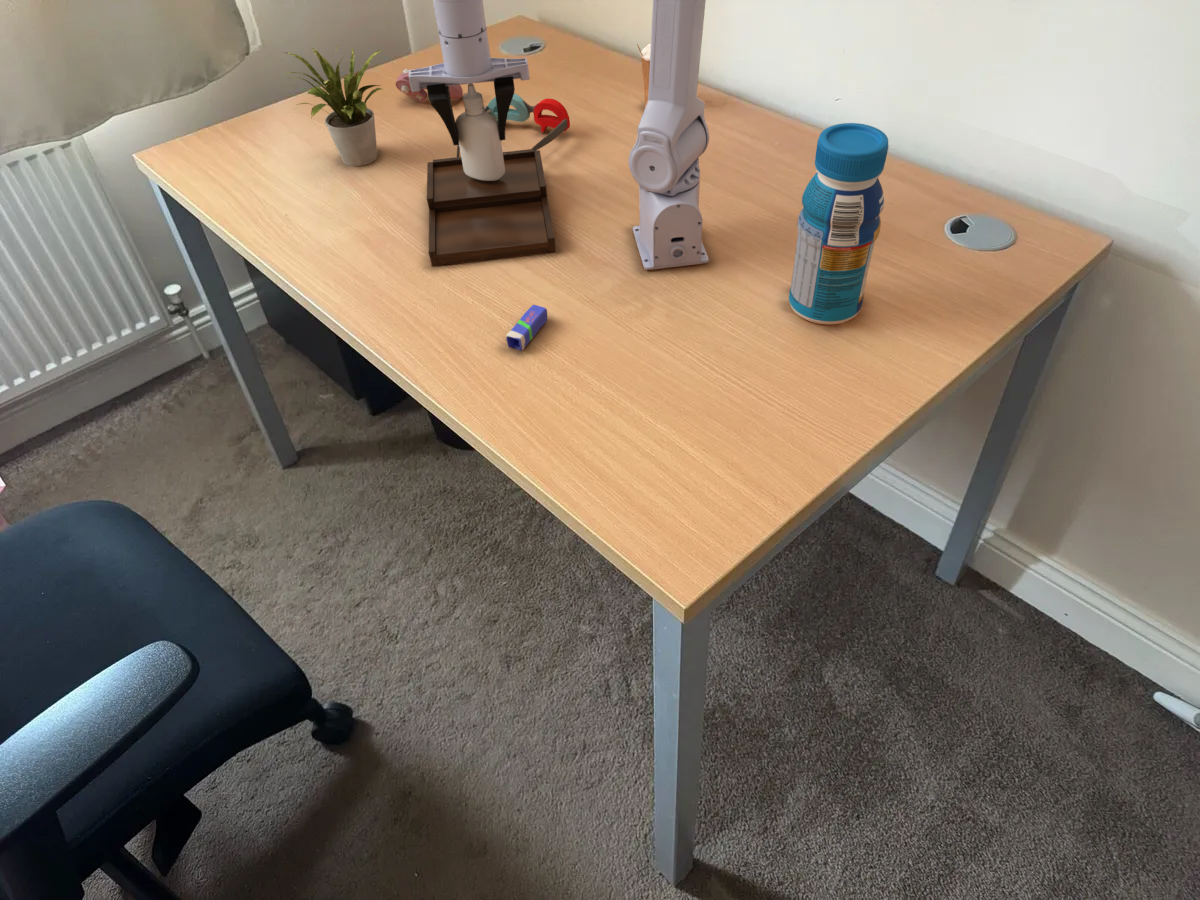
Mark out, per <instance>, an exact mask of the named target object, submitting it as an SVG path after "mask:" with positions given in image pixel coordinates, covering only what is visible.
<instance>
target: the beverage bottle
mask: <svg viewBox="0 0 1200 900" xmlns="http://www.w3.org/2000/svg"><path fill="white" fill-rule="evenodd" d="M816 142H817V143H816V148H815V149H816V150H815V158H814V167H815V168H814V169H815V171H816V172H815V174H814V175H813V176H812V178H811V179H810V180H809V181H808V183H807V185H806V186H805V188H804V191H803V193H802V197H801V205H802V207H803V208H802V209H801V210H800V211H799V214H798V217H797V218H798V219H797V225H796V227H797V237H796V246H795V253H794V263H793V270H792V277H791V282H790V283H791V284H790V287H789V293H788V303H789V306H790V308H791V310H792V311H793V312H794V313H795V314H796V315H797V316H799V317H800V318H801V319H803V320H806V321H808V322H810V323H815V324H819V325H838V324H842V323H847V322H848V321H850V320H853V319H854V318H855V317H856V316H858V314H859V313H860V311H861V310H862V307H863V303H864V295H865V288H866V283H867V278H868V274H869V269H870V265H871V261H872V256H873V252H874V247H875V244H876V243H875V242H876V241H877V240H878V237H879V236H880V232H881V225H882V223H881V216H880V214H881V213H882V212H883V210H884V206H885V196H884V190H883V186H882V184H881V181H880V179H879V178H880V176H881V175H882V173H883V171H884V169H885V164H886V161H887V155H888V151H889V138H888V136H887V135H886V133H885V132H884V131H882V130H881V129H879V128H877V127H875V126H872V125H869V124H865V123H859V122H858V123H857V122H843V123H837V124H833V125H831V126H827V127H826V128H825V129H823V130H822V132H820V134H819V136H818V139H817V141H816Z"/></svg>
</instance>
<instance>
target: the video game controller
mask: <svg viewBox="0 0 1200 900" xmlns="http://www.w3.org/2000/svg"><path fill="white" fill-rule="evenodd" d="M420 68H421V67H417V68H416V69H420ZM414 69H415V68H414ZM414 69H413V68H412V70H414ZM409 70H410V69H408V68H403V71H402V72H401V73H400V74H399V75H398V76H397V78H396V81H395V87H396V89H398V91H399V92H401V93H402V94H404V95H406V96H408V97H411V98H412V99H413V100H415V101H416V102H418V103H422V104H423V103H425V102H426V101H427V99H428V91H427V88H424V89H421V90H420V91H417V92H412V91H411V86H410V81H409ZM449 91H450V98H451V100H454V101H455V100H456V101H457V100H458V101H459V100H461V99H463V96H464V95H463V94H464V91H463V88H462V85H453V86H449Z"/></svg>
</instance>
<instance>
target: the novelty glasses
mask: <svg viewBox="0 0 1200 900" xmlns="http://www.w3.org/2000/svg"><path fill="white" fill-rule="evenodd" d="M510 106H512V107H513V108H509V110H508V115H507V120H506V121H513V122H517V123H518V122H519V123H524V122H526V121H527V120H528V119H530V117H531V113H533V121H534V123H535V124H536V125H538V126H540V131H541V132H540V133H541V134H543V133H544V132H545V131H546V130H547V128H552V129H553V130H551V131H550V132H549V133H548V134H547V135H545V136H544V137H543V138H542V139H540V140H539V141H538V142H537V143H536V144H535V145H534V146H532V147H531V149H534V151H537V150H540V149H542V148H544V147H545V146H547V145H548V144H549V143H551V142H552V141H554V140H555V139H557V137H559V136H560V135H561V134H562V133H563V132H567V131H568V129H570V127H571V121H570V116H569V113H568V111H567V109H566V107H565V106H564V105H563V104H562V103H561V102H560V101H559V100H557V99H555V98H544V99H542V100H540V101H539V102H538V103H536V104H535V105H534V106H533V105H530V104H529V103H528V102H527V101H525V100H524V99H523V98H522V97H521V96H520V95H518V94H517V93H515V92H514V95H513V98H512V101H511V104H510ZM484 111H485V112H487V113H489V114H490V115H492V116H493V117H494V118H495V119H496V120H497V122H498V111H497V104H496V97H495V96H494V97H493V98H492V99H490V101H489V102H488V104H487V105H485V106H484ZM543 111H549V112H552V113H553V114H554V115H552V114H543ZM456 147H457V148H456V157H460V154H461V153H460V147H459V145H456Z"/></svg>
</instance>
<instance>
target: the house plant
mask: <svg viewBox="0 0 1200 900" xmlns="http://www.w3.org/2000/svg"><path fill="white" fill-rule="evenodd" d="M338 47H339V44H337V45H336V47H335V52H337V50H338ZM383 50H384V49H379V50H377V51H374V52H373V53H372V54H371V55H369V57H368V58H367V59H366V61H365V62H364V64H363V65H362V67H361V69H360V70H359V71H357V72H356V73H354V71H355V51H354V48H352V49H351V56H350V60H349V70H348V71H349V72H348V73H347V74H346V75H345V76H344V77H343V85H342V79H341V75H340V63H341V62H342V60H343V59H344V57H342V58H341V59H340V60H339V62H338V63H337V64H336V66H335V67H336V68H335V69H334V67H333V66H332V64H331V63H329V61H328V60H327V59H326V58H325V57H324V56H323V55H322V54H321V53H320V52H318V50H317V49H315V48H314V47H312V49H311V51H312V52H313V53H314V55H316V57H317V58H318V61H319V63H320V66H321V68H322V70H323V73H324V74H325V77H326V78H327V80H324V79H323V78H322V76H321V75H320V74H319V73H318V72H317V70H316V69H315V68H314V66H312V65H311V63H310V62H309V61H307V59H305V58H304V57H302V56H301V55H298V54H295V53H292V52H287V51H286V52H284V51H282V53H284V54H287V55H290V56H293V57H295V58H297V59H298V60H299V61H301V62H302V64H304V65H305V66H306V67H307V68H308V69H309V71H310V72H311V73H312V74H313V75H314V76H315V77H316V78H317V79H316V78H315V77H313V76H312V75H309V74H307V73H303V72H300V74H302V75H304V76H307V77H308V78H310V79H311V80H313V81H314V82H315V83H316V84H317V85H319V86H315V85H314V84H313V83H311V82H310V81H309V80H307V79H305V78H303V77H299V76H293V77H289V78H288V77H287V79H288V80H289V79H297V78H298V79H301V80H303V81H304V82H307V83H308V84H309V85H311V86H312V87H310V89H309V90H308V91H307V94H308V95H312V96H314V97H317V98H320V99H322V100H323V101H324V102H325V103H318V104H316V105H313V104H312V103H309V102H301V103H297V104H296V106H298V105H311V106H312V108H311V111H310V120H312V118H313V117H314V116H315V115H316V114H318V112H319V111H321V110H322V111H324V112H326V113H328V115H326V117H325V118H324V124H325V126H326V129H327V131H328V133H329V135H330V137H331V139H332V141H333V143H334V145H335V147H336V150H337V152H338V154H339V156H340V158H341V160H342V162H343V164H344V165H346V166H350V167H361V166H366V165H369V164H371V163H373V162H374V161H376V159H378V146H377V136H376V135H377V132H376V123H375V121H376V120H375V113H374V111H373V110H372V109H371V108H369V107H367V104H366V103H367V101H368V100H369V99H370V98H371V96H373V94H375V93H376V92H378V91H380V90H383V88H382V87H381V86H382V85H381V84H380V85H379V84H369V85H364V86H362V87H360V88H359V86H360V83H361V80H362V78H363V76H364V74H365V72H366V70H367V69H368V68H369V66H370V64H371V62H372V60H373V58H374V57H376V55H378V53H380V52H381V51H383ZM290 74H298V72H297V71H294V72H293V71H292V72H286V73H284V74H282V76H284V75H290ZM342 86H343V87H342ZM321 87H322V88H321ZM373 87H376V88H373ZM343 88H344V91H343ZM371 88H373V89H372V90H371V91H370V92H369V93H368V94H367V96H366V98H365V99H364V101H362V100H363V95H364V93H365V92H366V91H367V90H368V89H371ZM325 106H328V107H330V108H331V109H332V112H328V111H326V110H324V109H323V108H324V107H325Z"/></svg>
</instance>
